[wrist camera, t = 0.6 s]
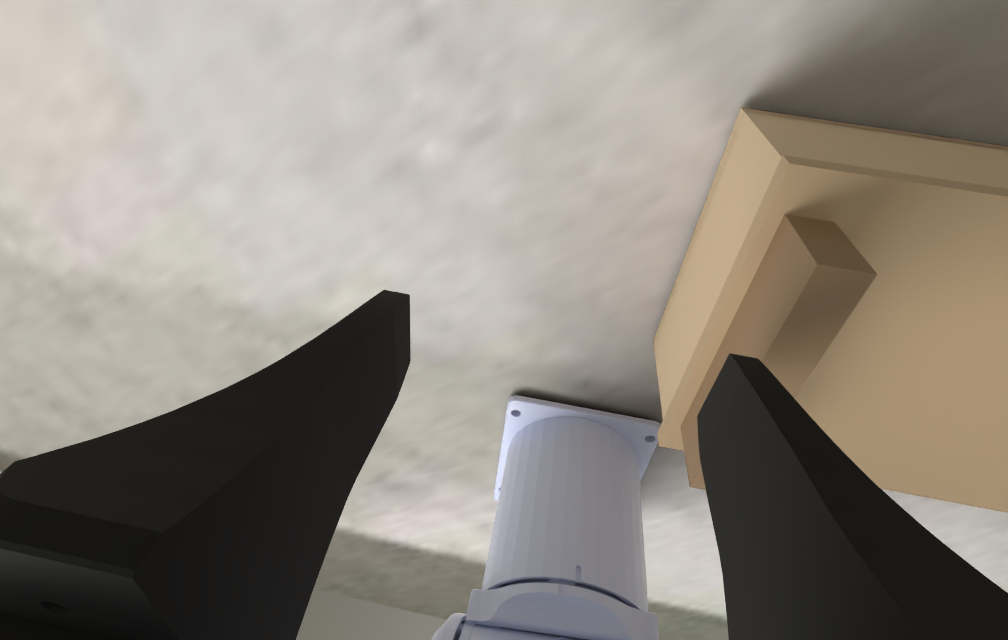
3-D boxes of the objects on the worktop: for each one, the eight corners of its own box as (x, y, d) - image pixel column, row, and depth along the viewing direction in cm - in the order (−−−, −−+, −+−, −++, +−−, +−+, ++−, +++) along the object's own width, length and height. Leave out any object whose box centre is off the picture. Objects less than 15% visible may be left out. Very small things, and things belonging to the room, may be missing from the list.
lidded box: (653, 340, 22) (663, 426, 18) (740, 107, 16) (785, 161, 12) (1028, 407, 21) (1124, 512, 17) (1275, 185, 15) (1511, 271, 11)
